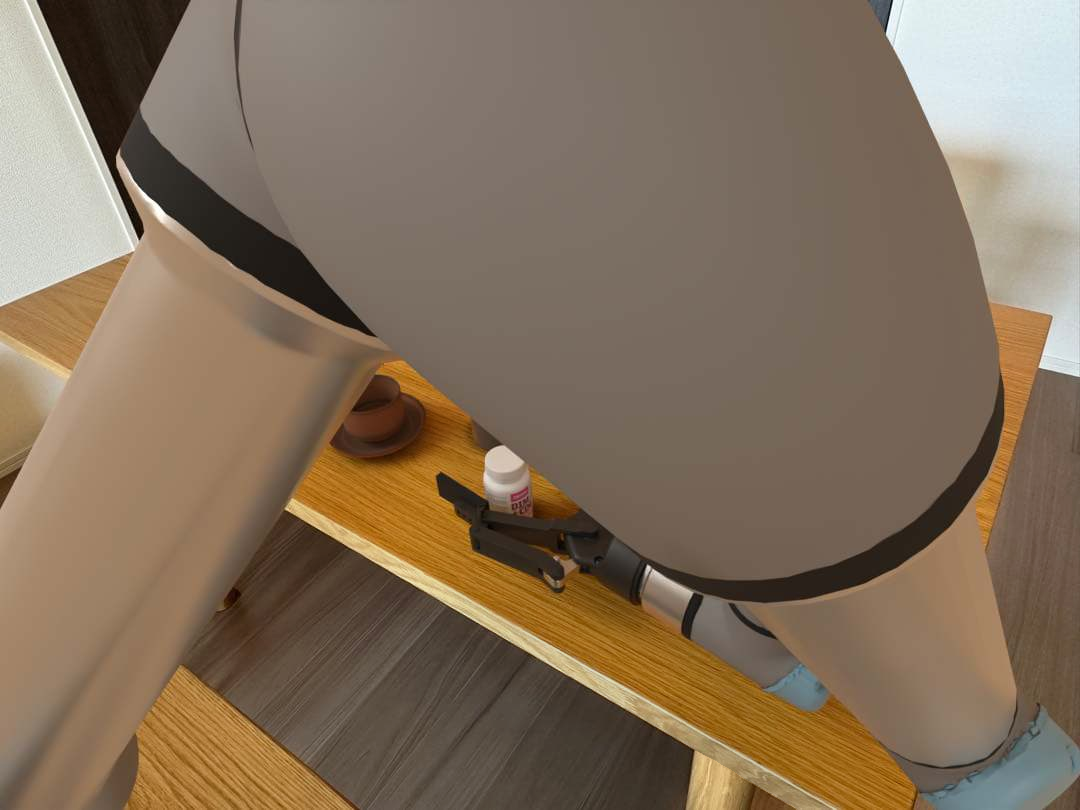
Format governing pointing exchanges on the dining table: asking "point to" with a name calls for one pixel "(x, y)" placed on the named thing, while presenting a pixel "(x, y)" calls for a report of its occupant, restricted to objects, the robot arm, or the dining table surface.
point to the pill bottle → (507, 483)
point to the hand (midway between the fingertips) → (473, 458)
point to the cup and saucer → (380, 421)
